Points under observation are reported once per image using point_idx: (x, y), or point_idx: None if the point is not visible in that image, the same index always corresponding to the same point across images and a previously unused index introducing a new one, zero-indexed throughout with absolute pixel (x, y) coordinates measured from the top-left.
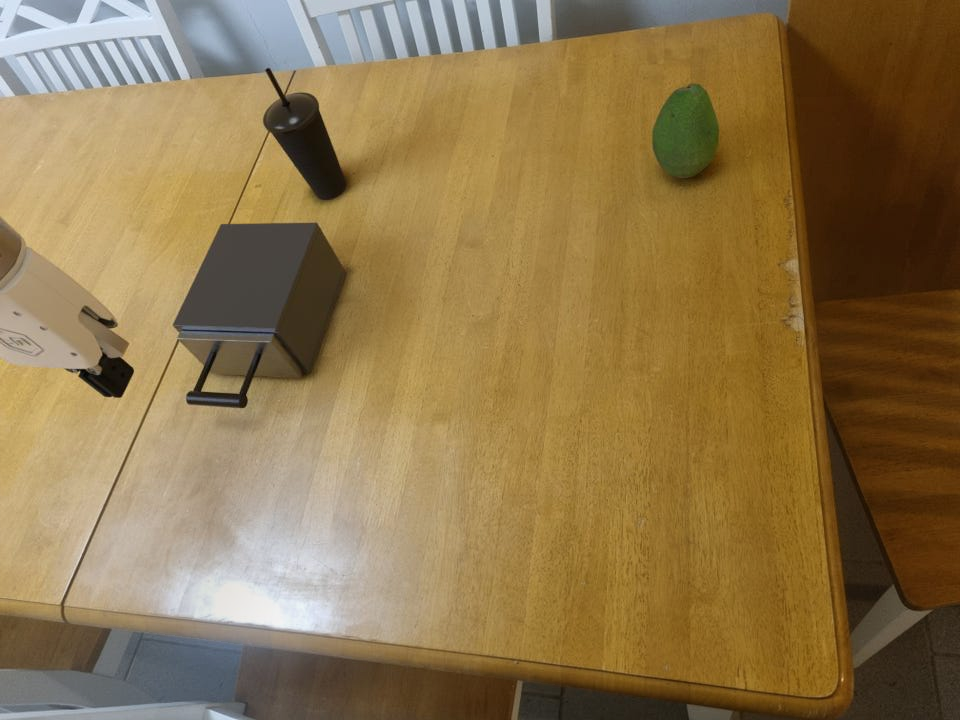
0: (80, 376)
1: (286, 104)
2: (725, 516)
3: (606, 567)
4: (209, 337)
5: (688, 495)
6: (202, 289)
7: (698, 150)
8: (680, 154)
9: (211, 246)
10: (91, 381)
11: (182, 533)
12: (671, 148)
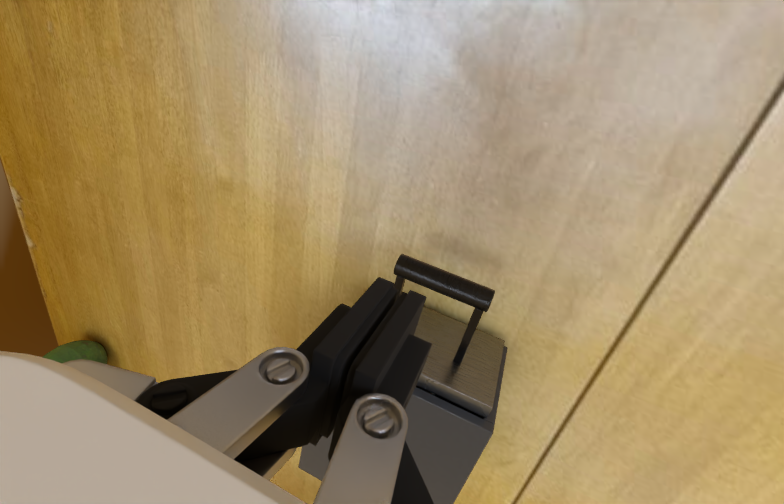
0: (364, 374)
1: None
2: (3, 25)
3: None
4: (432, 383)
5: (29, 51)
6: (445, 465)
7: (49, 354)
8: (59, 357)
9: None
10: (370, 344)
11: (554, 81)
12: None
